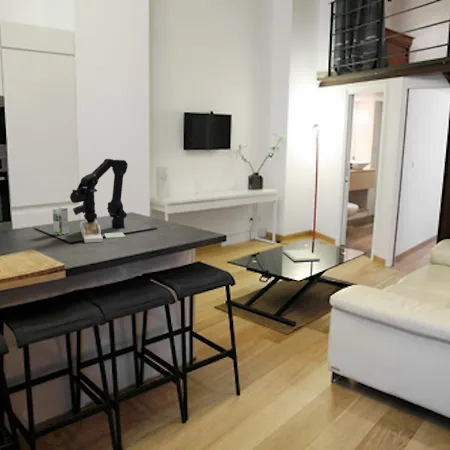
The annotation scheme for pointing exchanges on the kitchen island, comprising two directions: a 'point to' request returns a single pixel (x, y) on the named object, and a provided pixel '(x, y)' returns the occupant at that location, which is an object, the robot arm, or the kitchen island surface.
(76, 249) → the kitchen island surface
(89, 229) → the maple block
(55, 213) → the syrup box
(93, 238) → the trap channel
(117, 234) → the sage pad
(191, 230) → the kitchen island surface
